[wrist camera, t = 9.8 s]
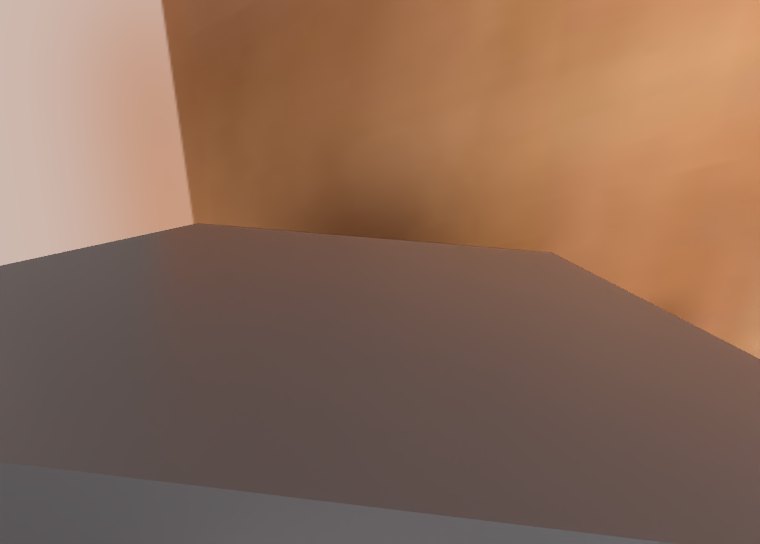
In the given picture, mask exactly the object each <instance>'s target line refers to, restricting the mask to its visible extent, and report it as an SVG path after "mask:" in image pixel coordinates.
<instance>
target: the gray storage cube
mask: <svg viewBox="0 0 760 544" xmlns="http://www.w3.org/2000/svg"><path fill="white" fill-rule="evenodd" d="M0 544H760V359H758V358H756V357H754V356H752V355H751V354H749V353H747V352H745V351H743V350H741V349H739V348H737V347H735V346H733V345H731V344H729V343H727V342H725V341H723V340H721V339H719V338H717V337H716V336H714V335H712V334H710V333H708V332H706V331H704V330H702V329H700V328H698V327H696V326H694V325H692V324H690V323H688V322H686V321H684V320H682V319H680V318H679V317H677V316H675V315H673V314H671V313H669V312H667V311H665V310H663V309H661V308H659V307H657V306H655V305H653V304H651V303H649V302H647V301H645V300H643V299H642V298H640V297H638V296H636V295H634V294H632V293H630V292H628V291H626V290H624V289H622V288H620V287H618V286H616V285H614V284H612V283H610V282H608V281H607V280H605V279H603V278H601V277H599V276H597V275H595V274H593V273H591V272H589V271H587V270H585V269H583V268H581V267H579V266H577V265H575V264H573V263H571V262H570V261H568V260H566V259H564V258H562V257H560V256H558V255H556V254H554V253H552V252H540V251H527V250H515V249H503V248H491V247H479V246H467V245H455V244H443V243H430V242H418V241H406V240H394V239H382V238H370V237H358V236H346V235H333V234H321V233H309V232H297V231H285V230H273V229H261V228H249V227H236V226H224V225H212V224H200V223H197V224H193V225H188V226H183V227H179V228H174V229H169V230H165V231H161V232H156V233H151V234H147V235H142V236H137V237H132V238H128V239H123V240H118V241H114V242H109V243H105V244H100V245H95V246H91V247H86V248H81V249H77V250H72V251H67V252H63V253H58V254H53V255H49V256H44V257H39V258H35V259H30V260H25V261H21V262H16V263H12V264H7V265H3V266H0Z"/></svg>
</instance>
